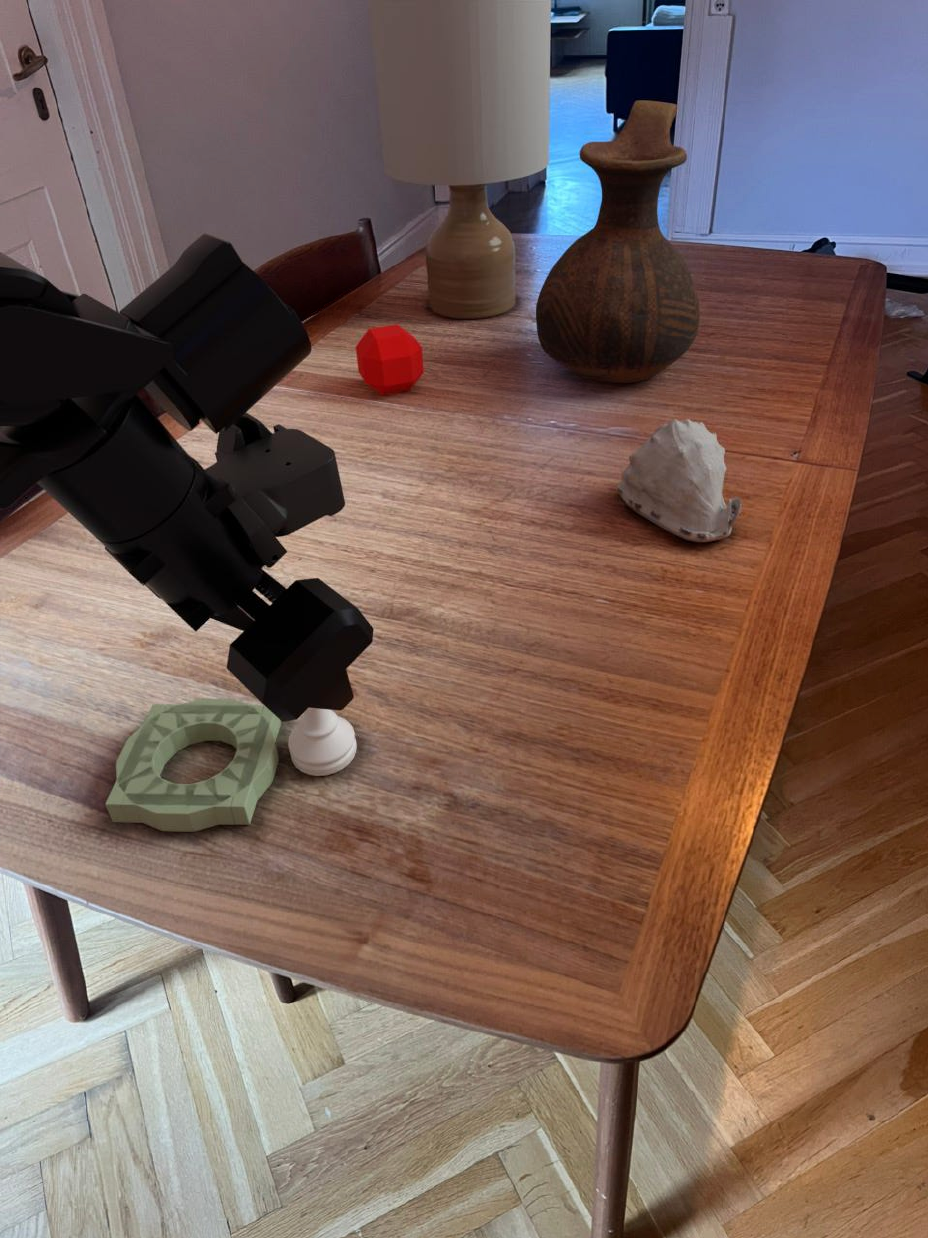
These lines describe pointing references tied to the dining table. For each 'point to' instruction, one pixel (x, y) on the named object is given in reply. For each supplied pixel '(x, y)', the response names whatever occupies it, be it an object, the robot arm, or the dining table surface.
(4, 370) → the robot arm
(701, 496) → the seashell
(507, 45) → the lamp
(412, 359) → the ball
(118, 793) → the pad
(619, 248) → the jug
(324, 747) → the chess pawn
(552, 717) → the dining table surface
